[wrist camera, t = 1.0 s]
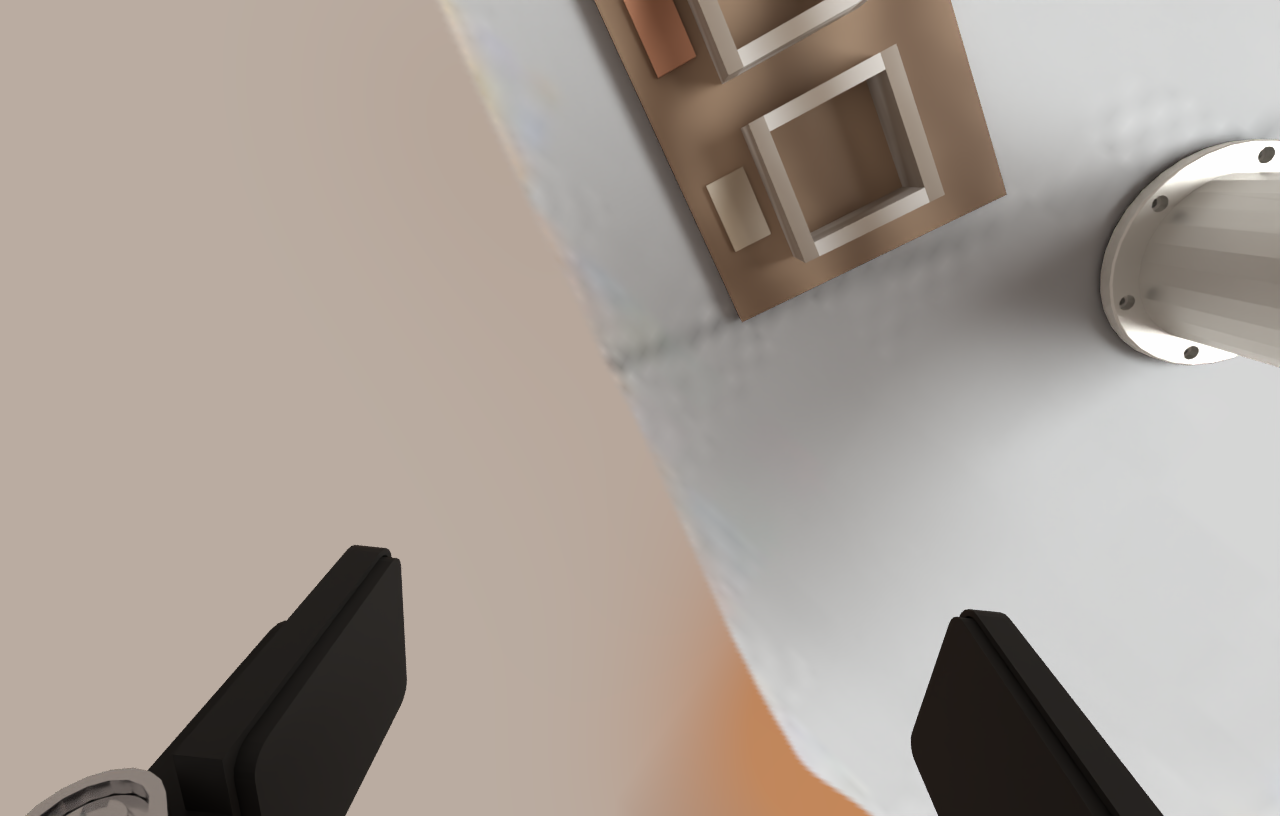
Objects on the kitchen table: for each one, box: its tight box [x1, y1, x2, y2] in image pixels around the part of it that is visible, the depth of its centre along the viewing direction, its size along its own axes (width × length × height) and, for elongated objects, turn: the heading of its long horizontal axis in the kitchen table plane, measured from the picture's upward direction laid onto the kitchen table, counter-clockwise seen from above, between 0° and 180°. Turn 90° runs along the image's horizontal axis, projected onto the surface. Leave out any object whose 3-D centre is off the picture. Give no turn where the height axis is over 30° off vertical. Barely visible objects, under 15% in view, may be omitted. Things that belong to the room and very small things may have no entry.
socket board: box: [594, 0, 1007, 322], centre depth 31 cm, size 16×22×4 cm
